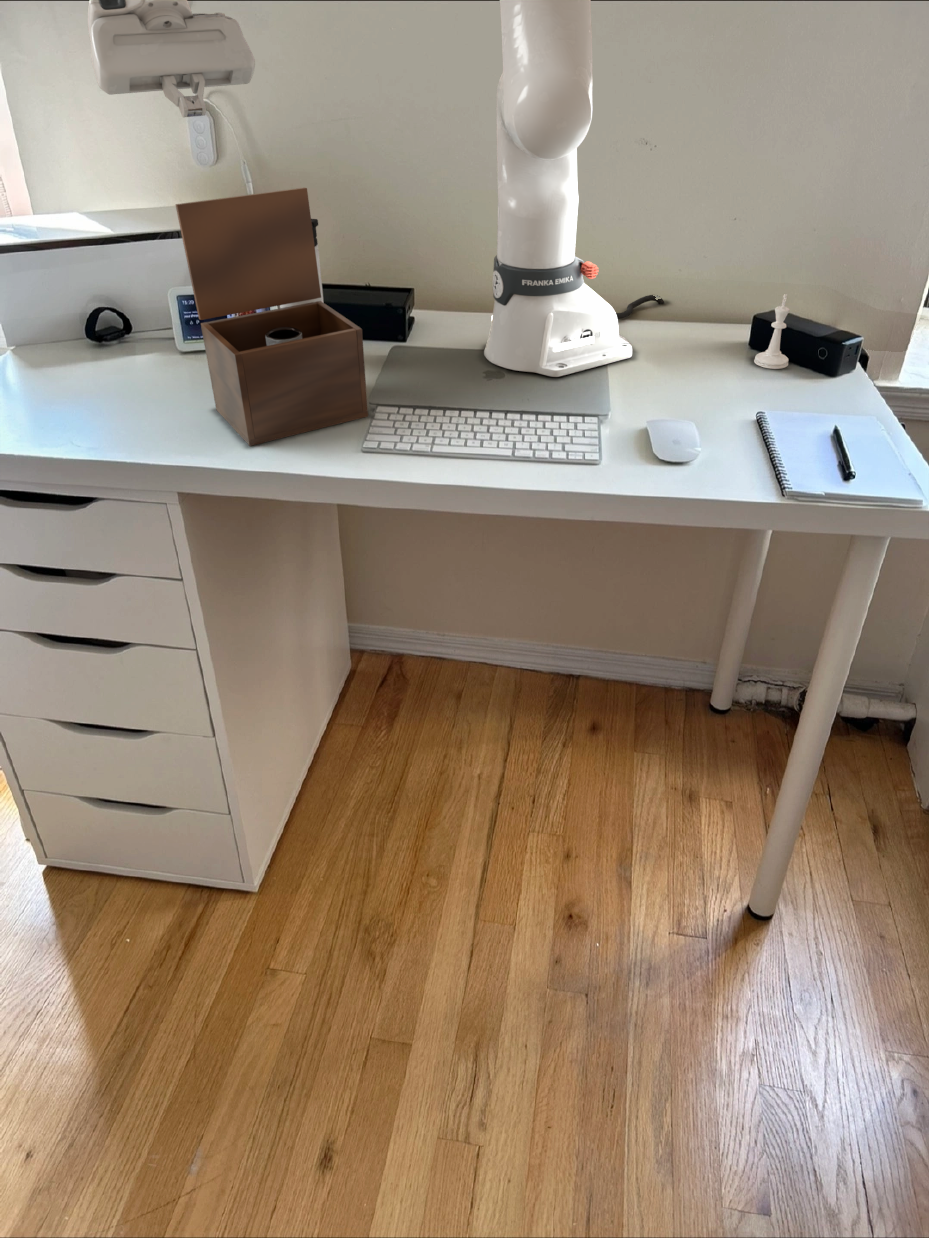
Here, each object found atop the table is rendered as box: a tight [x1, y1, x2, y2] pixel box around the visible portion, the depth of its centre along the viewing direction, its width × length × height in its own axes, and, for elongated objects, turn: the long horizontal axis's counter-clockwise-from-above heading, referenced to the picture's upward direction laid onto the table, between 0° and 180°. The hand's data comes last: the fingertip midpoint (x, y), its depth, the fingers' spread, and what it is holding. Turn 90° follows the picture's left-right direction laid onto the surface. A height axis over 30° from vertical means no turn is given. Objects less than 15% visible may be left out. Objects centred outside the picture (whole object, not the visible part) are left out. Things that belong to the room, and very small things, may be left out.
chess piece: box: [753, 293, 790, 370], centre depth 131 cm, size 5×5×10 cm
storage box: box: [200, 301, 369, 447], centre depth 117 cm, size 13×17×12 cm
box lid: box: [174, 187, 321, 321], centre depth 113 cm, size 13×17×1 cm
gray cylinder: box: [265, 327, 302, 346], centre depth 116 cm, size 4×4×10 cm
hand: (194, 113), depth 115 cm, fingers closed
